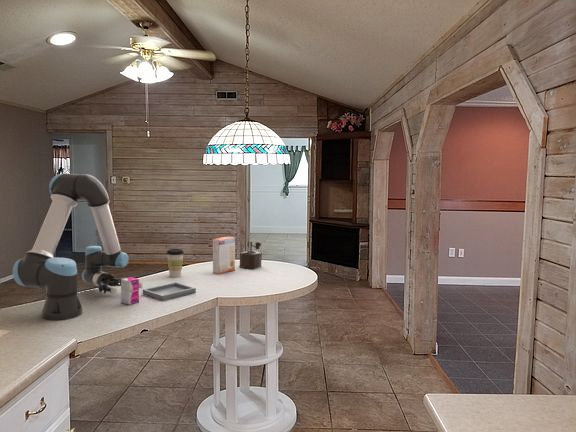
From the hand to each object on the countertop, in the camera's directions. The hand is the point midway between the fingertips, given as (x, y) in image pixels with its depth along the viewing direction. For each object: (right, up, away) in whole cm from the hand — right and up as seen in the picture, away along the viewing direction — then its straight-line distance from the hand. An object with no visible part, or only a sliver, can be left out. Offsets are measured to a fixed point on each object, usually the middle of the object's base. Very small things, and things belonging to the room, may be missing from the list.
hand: (129, 288), depth 212 cm
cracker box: (+35, -1, +66) cm, 75 cm away
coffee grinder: (+52, 0, +79) cm, 95 cm away
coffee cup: (+8, -1, +52) cm, 53 cm away
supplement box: (+1, -7, -1) cm, 7 cm away
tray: (+15, -5, +16) cm, 22 cm away
